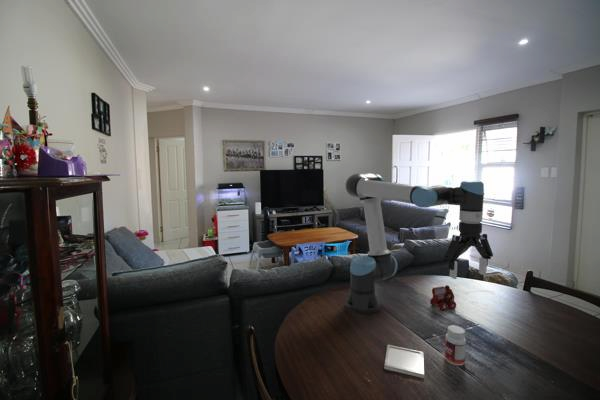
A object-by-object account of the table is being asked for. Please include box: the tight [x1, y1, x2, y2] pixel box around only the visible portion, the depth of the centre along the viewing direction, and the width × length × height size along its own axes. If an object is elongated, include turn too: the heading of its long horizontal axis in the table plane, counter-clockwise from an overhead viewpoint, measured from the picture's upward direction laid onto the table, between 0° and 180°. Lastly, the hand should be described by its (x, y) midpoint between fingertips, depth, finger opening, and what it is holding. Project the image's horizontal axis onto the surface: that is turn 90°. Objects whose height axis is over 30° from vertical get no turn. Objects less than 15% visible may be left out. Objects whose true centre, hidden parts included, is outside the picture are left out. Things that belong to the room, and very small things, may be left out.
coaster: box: [383, 344, 425, 379], centre depth 96 cm, size 12×12×1 cm
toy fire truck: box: [429, 284, 457, 312], centre depth 134 cm, size 7×12×10 cm, turn 108°
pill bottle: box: [444, 324, 467, 367], centre depth 96 cm, size 6×6×11 cm
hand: (467, 276), depth 109 cm, fingers open, 13 cm apart
